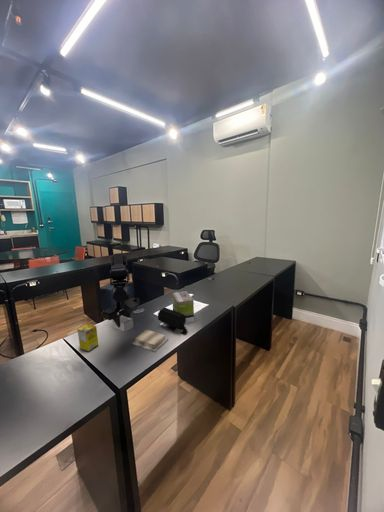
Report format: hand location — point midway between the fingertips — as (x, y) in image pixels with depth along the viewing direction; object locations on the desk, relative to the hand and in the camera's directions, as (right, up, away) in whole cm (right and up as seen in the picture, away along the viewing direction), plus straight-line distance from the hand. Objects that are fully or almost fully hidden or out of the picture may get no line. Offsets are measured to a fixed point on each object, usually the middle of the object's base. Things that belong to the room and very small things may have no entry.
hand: (123, 324), depth 102 cm
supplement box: (-17, -12, +2) cm, 21 cm away
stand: (+12, -11, +6) cm, 17 cm away
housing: (0, -1, 0) cm, 1 cm away
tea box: (+27, -6, +30) cm, 41 cm away
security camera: (+22, -8, +18) cm, 30 cm away
